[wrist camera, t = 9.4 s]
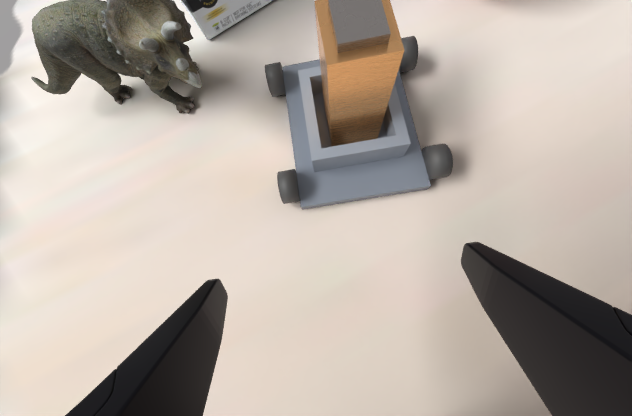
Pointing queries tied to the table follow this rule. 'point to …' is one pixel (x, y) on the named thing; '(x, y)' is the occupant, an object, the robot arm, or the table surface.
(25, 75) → the table surface
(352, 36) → the orange block gray top
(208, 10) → the tea box
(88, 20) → the dinosaur figurine
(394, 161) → the chassis
